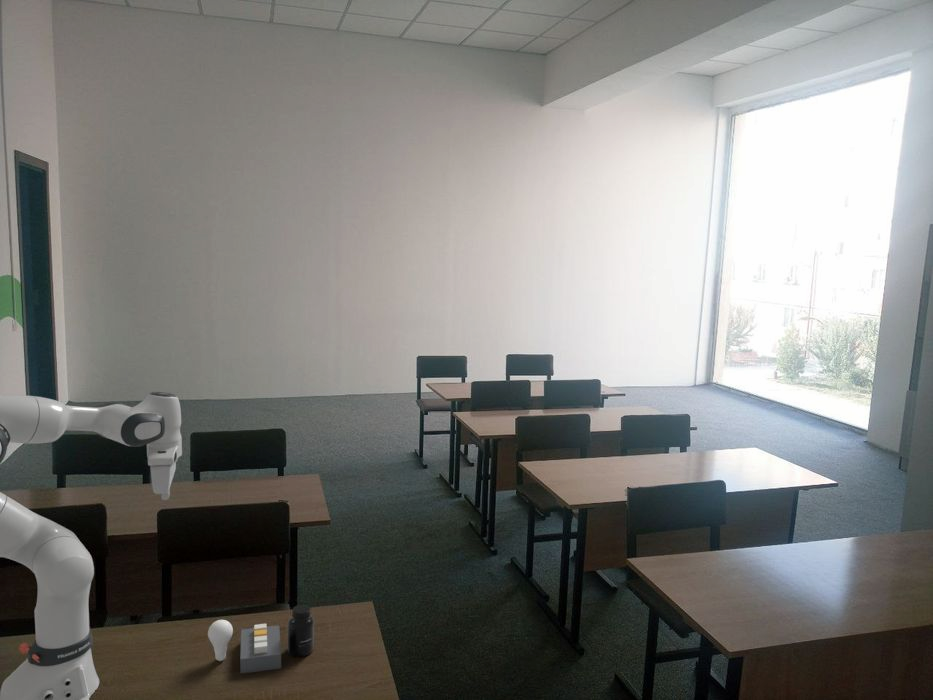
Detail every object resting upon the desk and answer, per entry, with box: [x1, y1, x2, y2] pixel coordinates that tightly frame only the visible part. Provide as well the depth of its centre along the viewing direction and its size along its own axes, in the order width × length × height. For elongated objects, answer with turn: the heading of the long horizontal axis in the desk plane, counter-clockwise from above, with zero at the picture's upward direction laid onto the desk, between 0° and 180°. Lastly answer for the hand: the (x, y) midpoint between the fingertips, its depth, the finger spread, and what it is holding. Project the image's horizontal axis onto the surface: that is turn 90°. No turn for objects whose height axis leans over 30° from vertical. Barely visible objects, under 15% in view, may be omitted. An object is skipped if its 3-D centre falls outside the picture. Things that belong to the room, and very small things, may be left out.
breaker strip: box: [239, 622, 282, 674], centre depth 189 cm, size 22×10×6 cm, turn 17°
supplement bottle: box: [287, 604, 315, 658], centre depth 188 cm, size 7×7×12 cm
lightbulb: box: [207, 619, 234, 662], centre depth 182 cm, size 6×6×11 cm
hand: (165, 497), depth 194 cm, fingers closed
